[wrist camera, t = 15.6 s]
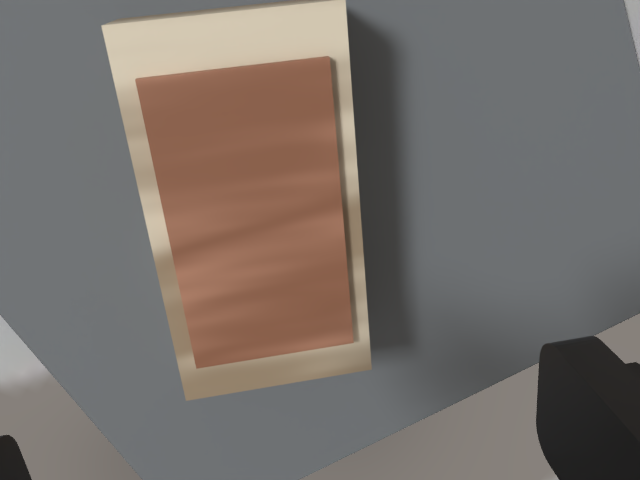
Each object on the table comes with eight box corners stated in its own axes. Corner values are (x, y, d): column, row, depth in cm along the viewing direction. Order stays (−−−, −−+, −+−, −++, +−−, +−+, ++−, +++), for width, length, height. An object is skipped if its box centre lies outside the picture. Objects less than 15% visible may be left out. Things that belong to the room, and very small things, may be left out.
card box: (373, 374, 21) (347, -1, 16) (185, 406, 20) (98, 26, 15) (354, 324, 24) (327, -4, 19) (190, 351, 23) (119, 18, 18)
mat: (432, -745, 14) (441, -776, 13) (681, 281, 26) (691, 288, 26) (-447, -225, 15) (-471, -232, 14) (189, 522, 27) (188, 533, 27)
